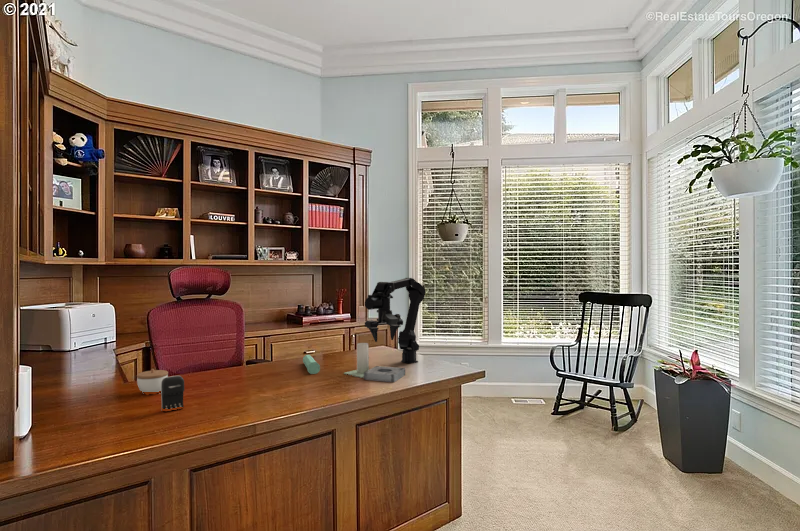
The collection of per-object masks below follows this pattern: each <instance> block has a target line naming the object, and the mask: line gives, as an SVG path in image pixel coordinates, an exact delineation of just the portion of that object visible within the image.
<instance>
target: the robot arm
mask: <svg viewBox="0 0 800 531" xmlns="http://www.w3.org/2000/svg"><path fill="white" fill-rule="evenodd" d="M403 288H405V291H407V292H408V299H409V306H408V312H407V314H406V318H405V319H406V320H405V324H404V320H403V318H401V314H400V313H395V314H393V311H392V310H391V299H394V296H393V295H392V293H394V292H395V290H398V289H403ZM426 292H427V290H426V288H425V287H424V285H422V284H421V283H419V281H417V280H415V278H413V277H405V278H401V279H396V280H395V281H394V280H393V281H378V282H377V283H376V285H375V288H374V289H373V291H372V293H371V294H368V295H367V298H366V299H365V301H364V306H365V308H366V309H367V310H371V311H372V310H376V313H377V318H376V320H374V319H373V320H372V319H371V320H370V319H369V320H365V322H364V328H365V327H366V329H368V330H369V332H370V334H371V335H372V338H373V340H374V342H375V343H378V332H379V331H378V330H379V326H385V325H387V326H389V334H390V339H391V341H394V338H395V335H396V333H397V330H398V329H399V328H400V327H402V325H404V328H403V330H401V331H399V334H398V338H397V340H398V341H397V343H398V346H399V350H402V354H401V360H400V362H402V363H406V364H415V363H419V361H418V360H417V352H418V351H419V350H420V345H419V344H418V342H417V341H416V339H417V336H416V333H415V330H416V329H415V327H416V325H417V319H418V314H419V309H420V304H421V303H422V301H424V299H425V296H426ZM414 362H415V363H414Z"/></svg>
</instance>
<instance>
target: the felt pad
mask: <svg viewBox="0 0 800 531" xmlns="http://www.w3.org/2000/svg"><path fill="white" fill-rule="evenodd" d="M343 374H344V375H347V374H348V375H347V376H351V375H352V377H355V378H360V379H361V378H362V379H364V374H359V373H357V369H355V370H350V371H346V372H343Z"/></svg>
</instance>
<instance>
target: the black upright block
mask: <svg viewBox="0 0 800 531" xmlns="http://www.w3.org/2000/svg"><path fill="white" fill-rule="evenodd" d="M184 392H185V380H184V378H183V376H181V375H172V376H168V377H165V378H163V379H162V382H161V393H160V395H161V397H160V398H161V409H162V408H163V409H165V408H166V409H170V408H171V409H172V408H177V407H183V408H184Z"/></svg>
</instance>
